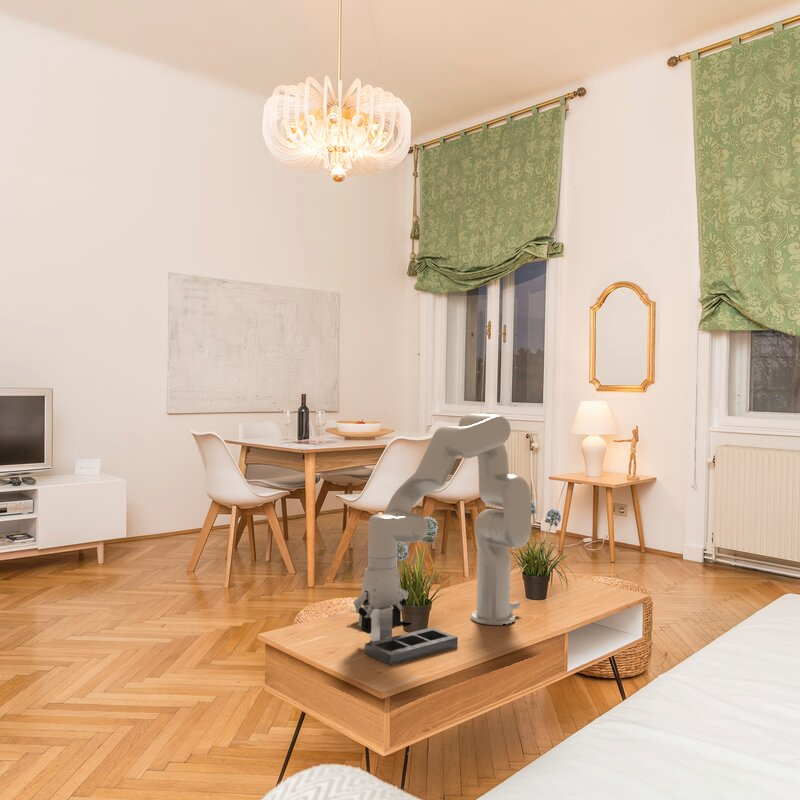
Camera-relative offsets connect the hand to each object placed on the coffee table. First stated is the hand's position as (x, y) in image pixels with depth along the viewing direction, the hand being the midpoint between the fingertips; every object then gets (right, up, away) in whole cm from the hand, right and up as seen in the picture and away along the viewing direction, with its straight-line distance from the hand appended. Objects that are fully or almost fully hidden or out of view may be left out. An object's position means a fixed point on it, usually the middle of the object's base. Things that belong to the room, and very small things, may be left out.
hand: (381, 628), depth 187 cm
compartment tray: (+8, -3, -6) cm, 11 cm away
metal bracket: (-1, -4, +16) cm, 17 cm away
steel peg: (0, -3, 0) cm, 3 cm away
